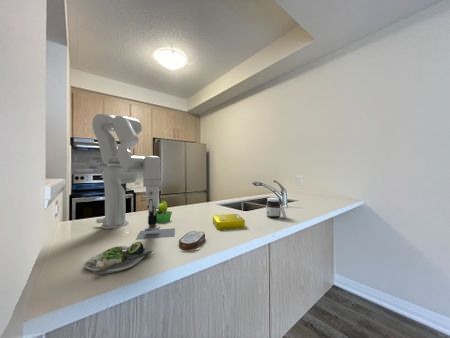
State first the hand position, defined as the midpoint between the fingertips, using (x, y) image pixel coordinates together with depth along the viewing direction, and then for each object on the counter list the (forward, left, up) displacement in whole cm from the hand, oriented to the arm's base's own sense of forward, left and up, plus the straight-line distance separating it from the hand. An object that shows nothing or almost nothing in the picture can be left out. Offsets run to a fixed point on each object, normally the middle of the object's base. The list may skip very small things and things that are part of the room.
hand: (152, 222), depth 91 cm
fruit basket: (+2, +24, -6) cm, 25 cm away
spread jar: (+71, +16, -6) cm, 73 cm away
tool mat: (+2, 0, -6) cm, 6 cm away
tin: (+13, -12, -4) cm, 18 cm away
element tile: (+38, +8, -6) cm, 39 cm away
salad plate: (-8, -23, -6) cm, 25 cm away
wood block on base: (0, 0, -3) cm, 3 cm away
